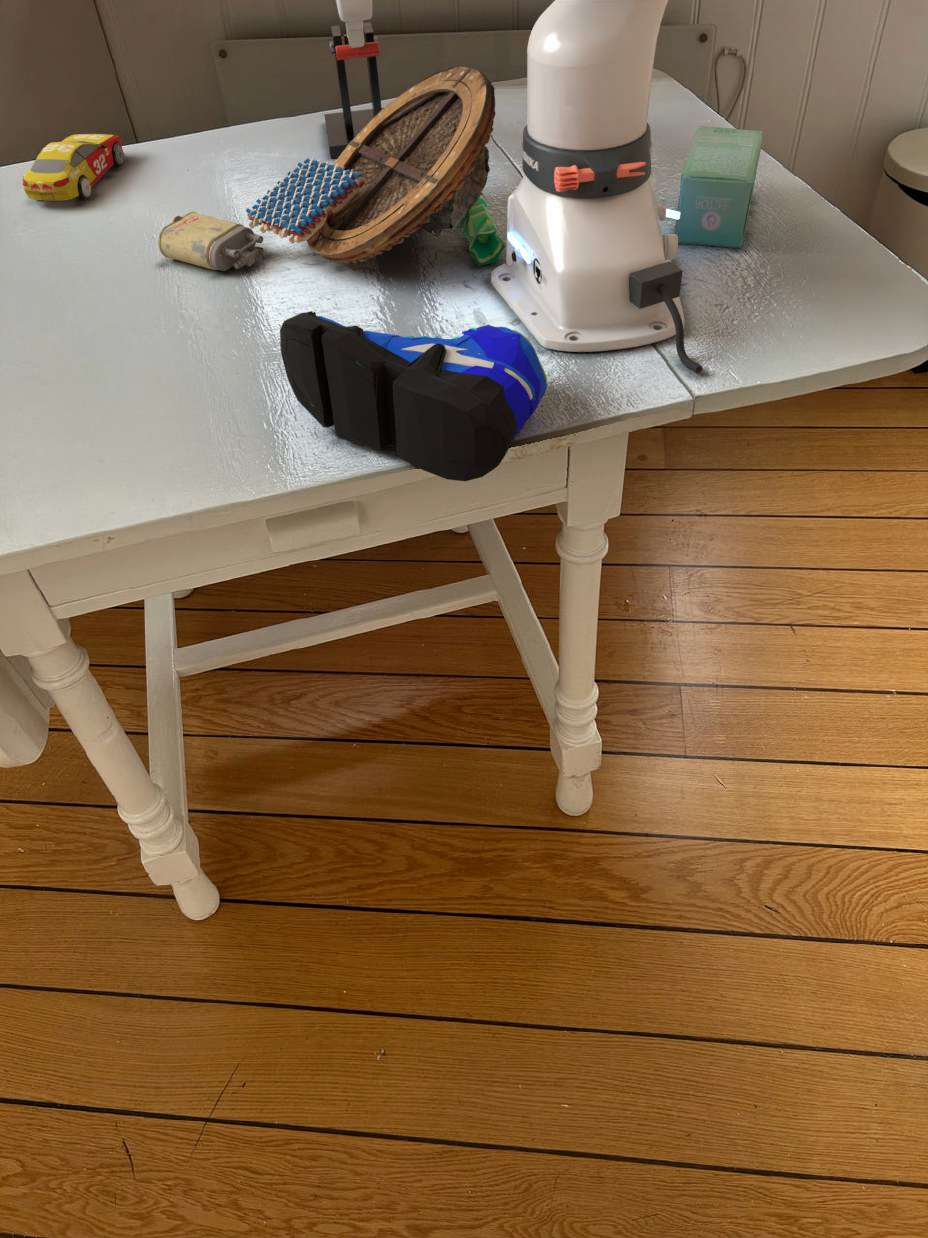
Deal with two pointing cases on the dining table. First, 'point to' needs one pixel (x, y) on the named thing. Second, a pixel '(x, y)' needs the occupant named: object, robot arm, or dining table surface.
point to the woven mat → (305, 200)
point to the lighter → (209, 242)
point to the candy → (482, 234)
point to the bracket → (349, 122)
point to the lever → (356, 50)
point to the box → (718, 187)
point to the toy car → (72, 167)
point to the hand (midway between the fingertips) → (356, 43)
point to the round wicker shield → (409, 163)
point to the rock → (460, 199)
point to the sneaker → (417, 390)
